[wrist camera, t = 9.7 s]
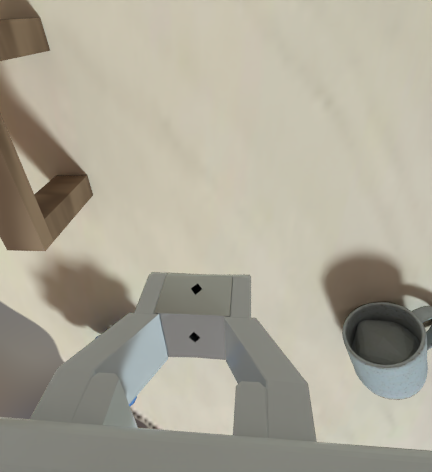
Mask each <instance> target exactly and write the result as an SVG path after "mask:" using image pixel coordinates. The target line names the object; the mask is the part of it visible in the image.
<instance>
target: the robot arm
mask: <svg viewBox="0 0 432 472" xmlns="http://www.w3.org/2000/svg"><path fill="white" fill-rule="evenodd" d="M168 357H198V358H210V359H222V360H226V362H227V364H228V366H229V368H230V369H231V371H232V373H233V375H234V377H235V379H236V381H237V383H238V385H237V386H236V393H235V410H234V426H233V435H223V434H210V433H198V432H185V431H172V430H159V429H146V428H138V427H137V424H136V422H135V419H134V417H133V414H132V411H131V409H130V406H129V404H130V403H131V402H132V401H133V399H134V398H135V397H136V396H137V395H138V394H139V392H140V391H141V390H142V389H143V388H144V386H145V385H146V384H147V383H148V382H149V381H150V379H151V378H152V377H153V376H154V375H155V374H156V372H157V371H158V370H159V369H160V368H161V366H162V365H163V364H164V363H165V362H166V361H167V359H168ZM0 472H432V451H427V450H414V449H402V448H389V447H376V446H363V445H350V444H337V443H324V442H317V441H316V434H315V428H314V421H313V414H312V407H311V401H310V394H309V387H308V383H307V382H306V381H305V380H304V378H303V377H302V376H301V374H300V373H299V372H298V371H297V369H296V368H295V367H294V366H293V364H292V363H291V362H290V360H289V359H288V358H287V357H286V355H285V354H284V353H283V352H282V350H281V349H280V348H279V347H278V345H277V344H276V343H275V341H274V340H273V339H272V338H271V336H270V335H269V334H268V333H267V331H266V330H265V329H264V327H263V326H262V325H261V324H260V322H259V321H258V320H257V319H256V318H251V276H250V275H218V274H186V273H160V272H152V273H151V274H150V275H149V276H148V279H147V281H146V284H145V286H144V289H143V291H142V294H141V297H140V299H139V302H138V304H137V307H136V309H135V312H134V313H128V314H127V315H126V316H124V317H123V318H122V319H120V320H119V321H118V322H117V323H115V324H114V325H113V326H111V327H110V328H109V329H108V330H106V331H105V332H104V333H102V334H101V335H100V336H98V337H97V338H96V339H95V340H93V341H92V342H91V343H89V344H88V345H87V346H86V347H84V348H83V349H82V350H80V351H79V352H78V353H77V354H75V355H74V356H73V357H71V358H70V359H69V360H67V361H66V362H65V363H64V364H62V365H61V366H60V367H58V368H57V370H56V372H55V374H54V376H53V377H52V379H51V381H50V383H49V385H48V387H47V388H46V390H45V392H44V394H43V396H42V398H41V399H40V401H39V403H38V405H37V407H36V409H35V410H34V412H33V414H32V416H31V418H30V419H17V418H5V417H0Z"/></svg>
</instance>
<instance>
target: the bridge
mask: <svg viewBox="0 0 432 472" xmlns="http://www.w3.org/2000/svg"><path fill="white" fill-rule="evenodd" d="M45 51H50V49H49V46H48V42H47V39H46V36H45V32H44V29H43V26H42V22H41V19H40V18H27V19H7V20H0V61H3V60H8V59H12V58H17V57H22V56H26V55H31V54H36V53H41V52H45ZM92 196H93V193H92V190H91V187H90V183H89V180H88V177H87V176H55V177H54V178H53V179H52V180H51V181H50V182H48V183H47V184H46V185H45V186H44V187H43V188H41V189H40V190H39V191H38V192H37V193H36V194H34V193H33V191H32V188H31V186H30V184H29V181H28V179H27V176H26V174H25V172H24V169H23V167H22V164H21V162H20V160H19V157H18V155H17V152H16V150H15V148H14V145H13V143H12V140H11V138H10V136H9V133H8V131H7V128H6V126H5V124H4V121H3V119H2V116H1V114H0V237H1V239H2V241H3V243H4V245H5V247H6V248H7V250H22V251H46V250H47V248H48V247H49V246H50V245H51V244H52V243H53V241H54V240H55V239H56V238H57V237H58V236H59V234H60V233H61V232H62V231H63V230H64V228H65V227H66V226H67V225H68V224H69V223H70V221H71V220H72V219H73V218H74V217H75V216H76V214H77V213H78V212H79V211H80V210H81V208H82V207H83V206H84V205H85V204H86V203H87V201H88V200H89V199H90V198H91V197H92Z"/></svg>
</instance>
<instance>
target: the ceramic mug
mask: <svg viewBox="0 0 432 472" xmlns="http://www.w3.org/2000/svg"><path fill="white" fill-rule="evenodd" d="M430 319H432V307H431V306H423V307H420V308H418V309H415V310H413V311H410V310H408V309H407V308H405V307H402V306H400V305H397V304H393V303H388V302H376V303H370V304H366V305H362V306H360V307H359V308H357V309H355V310H354V311H353V312H352V313H351V314H349V316H348V317H347V319H346V320H345V323H344V326H343V332H342V334H343V340H344V344H345V346H346V349H347V351H348V354H349V356H350V359H351V361H352V364H353V366H354V369H355V371H356V374H357V376H358V377H359V379H360V380H361V381H362V383H363V384H364V385H365V386H366V387H367V388H368V389H369V390H371V391H372V392H373V393H374V394H376V395H378V396H381V397H383V398H387V399H394V400H400V399H406V398H409V397H411V396H413V395H415V394H416V393H418V392H419V391H420V389H421V388H422V387H423V385H424V383H425V380H426V377H427V370H428V367H427V350H429V349H430V348H432V325H431V327H430V328H429V330H428V331H427V332H426V331H425V328H424V325H423V322H425V321H427V320H430Z"/></svg>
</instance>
